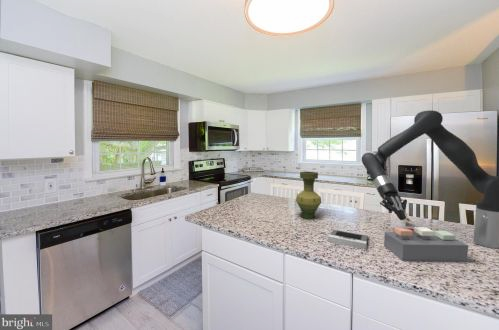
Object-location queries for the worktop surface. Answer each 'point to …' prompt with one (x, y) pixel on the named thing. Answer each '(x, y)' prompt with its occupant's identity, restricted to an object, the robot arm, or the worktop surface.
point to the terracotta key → (403, 232)
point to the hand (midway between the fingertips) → (403, 219)
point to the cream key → (423, 232)
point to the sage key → (444, 235)
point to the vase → (308, 196)
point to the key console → (425, 248)
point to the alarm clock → (348, 238)
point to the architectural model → (406, 221)
